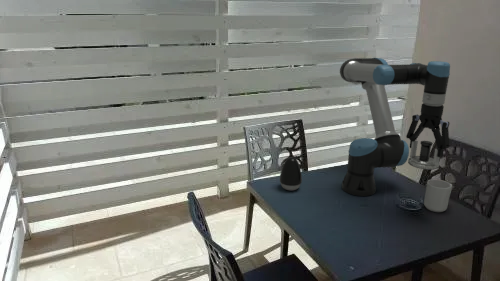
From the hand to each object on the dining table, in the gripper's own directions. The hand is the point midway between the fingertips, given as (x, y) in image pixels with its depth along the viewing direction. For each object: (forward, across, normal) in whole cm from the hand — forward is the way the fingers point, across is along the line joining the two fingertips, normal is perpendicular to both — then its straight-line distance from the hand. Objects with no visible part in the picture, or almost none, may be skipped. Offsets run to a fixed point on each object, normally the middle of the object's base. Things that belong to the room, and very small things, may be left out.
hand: (423, 160), depth 148 cm
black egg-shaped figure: (+23, -45, -29) cm, 58 cm away
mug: (+23, +2, +12) cm, 26 cm away
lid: (+2, 0, 0) cm, 2 cm away
